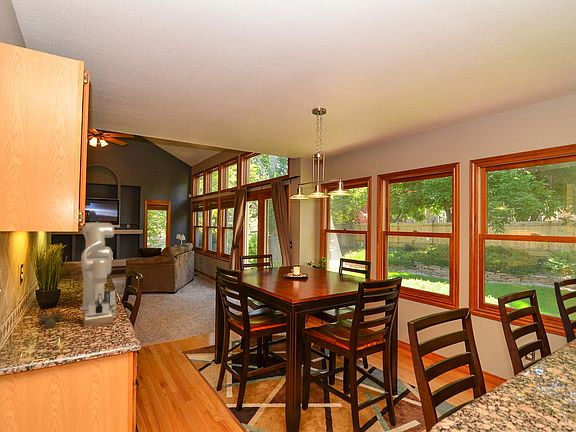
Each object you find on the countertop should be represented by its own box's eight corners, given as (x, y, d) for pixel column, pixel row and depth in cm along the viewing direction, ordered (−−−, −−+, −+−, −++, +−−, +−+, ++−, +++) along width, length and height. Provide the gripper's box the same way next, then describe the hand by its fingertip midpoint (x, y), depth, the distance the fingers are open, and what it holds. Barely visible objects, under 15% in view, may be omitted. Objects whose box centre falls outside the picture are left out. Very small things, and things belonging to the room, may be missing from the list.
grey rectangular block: (38, 331, 174) (41, 321, 190) (60, 329, 179) (61, 319, 196) (39, 320, 174) (42, 311, 191) (60, 318, 179) (61, 309, 196)
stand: (83, 323, 187) (83, 315, 187) (110, 319, 195) (110, 312, 196) (84, 327, 180) (84, 319, 180) (112, 323, 188) (112, 315, 188)
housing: (84, 313, 186) (84, 303, 187) (110, 310, 194) (110, 301, 195) (85, 316, 182) (85, 305, 182) (111, 312, 189) (112, 302, 190)
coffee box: (116, 315, 206) (117, 289, 206) (109, 317, 199) (110, 291, 200) (102, 314, 206) (103, 289, 207) (95, 317, 200) (96, 291, 201)
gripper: (90, 279, 193) (89, 309, 193) (93, 283, 180) (92, 316, 179) (104, 278, 198) (103, 307, 197) (108, 282, 184) (107, 314, 183)
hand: (98, 311), depth 188 cm, fingers closed on housing, 6 cm apart
